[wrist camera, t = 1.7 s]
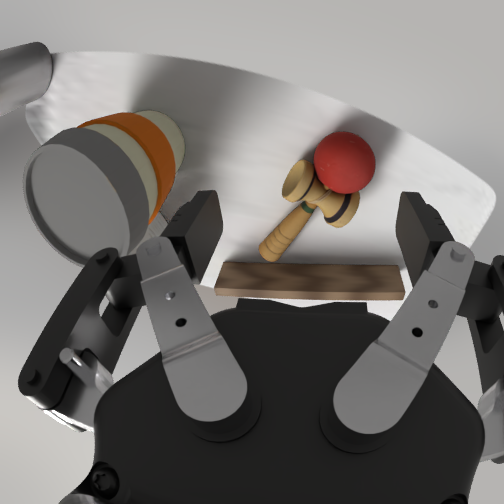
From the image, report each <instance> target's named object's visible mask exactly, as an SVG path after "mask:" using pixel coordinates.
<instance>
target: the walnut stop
mask: <svg viewBox="0 0 504 504" xmlns="http://www.w3.org/2000/svg"><path fill="white" fill-rule="evenodd" d="M214 289H215V293H216V295H220V296H237V297H255V298H278V299H309V300H403V298H404V295H405V289H404V285H403V281H402V278H401V274H400V270H399V267H398V265H333V264H281V263H239V262H223V265H222V268H221V270H220V273H219V276H218V278H217V281H216V284H215V286H214Z"/></svg>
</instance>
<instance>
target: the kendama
mask: <svg viewBox="0 0 504 504" xmlns="http://www.w3.org/2000/svg"><path fill="white" fill-rule="evenodd" d="M374 172H375V156H374V153H373V151H372V149H371V148H370V146H369V145H368V144H367V142H366V141H364V140H363V139H362V138H361V137H359V135H355V134H353V133H349V132H335V133H332V134H330V135H328V136H326V137H325V138H324V139H323V140H322V141H321V142H320V143H319V144H318V146H317V148H316V150H315V153H314V164H312V163H311V162H309V161H306V160H300V161H298V162H297V163H296V164H295V165H294V166H293V167H292V169H291V170H290V172H289V174H288V175H287V177H286V179H285V182H284V184H283V188H282V196H283V198H285V199H286V200H288V201H290V202H296V201H301V200H305V201H304V202H302V203H301V204H300V205H299V206H298V207H297V208H296V209H294V210H293V211H292V212H291V213H290V214H289V215H288V216H287V217H286V218H285V219H284V220H283V221H282V222H281V223H280V224H279V225H278V226H277V227H276V229H274V231H273V232H272V233H271V234H270V235H269V236H268V237H267V238H266V239H265V240H264V241H263V242H261V244H260V245H259V252H260V254H261V256H262V257H263V258H264V259H266V260H268V261H270V262H274V261H277V260H278V259H279V258H280V257H281V255H282V254H283V252H284V251H285V250H286V249H287V247H288V246H289V245H290V243H291V242H292V241H293V240H294V239H295V237H296V236H297V235H298V234H299V232H300V231H301V230H302V228H303V227H304V225H305V224H306V223H307V221H308V219H309V218H310V216H311V215H312V213H313V212H314V210H315V208H316V207H317V206H318V207H319V208H320V209H321V210H322V212H323V214H324V219H325V221H326V223H328V224H330V225H332V226H334V227H336V228H340V227H343V226H345V225H346V224H347V223H349V222H350V220H351V219H352V218H353V216H354V215H355V213H356V211H357V209H358V206H359V200H360V195H359V190H361V189H363V188H364V187H365V186H366V185H367V184H368V183H369V182H370V181H371V179H372V177H373V175H374Z"/></svg>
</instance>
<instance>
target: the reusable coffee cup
mask: <svg viewBox="0 0 504 504" xmlns="http://www.w3.org/2000/svg"><path fill="white" fill-rule="evenodd" d="M184 155H185V143H184V138H183V136H182V133H181V131H180V129H179V127H178V126H177V125H176V123H175V122H174V121H173V120H172V119H171V118H169V117H168V116H167V115H165V114H163V113H161V112H157V111H151V110H146V111H140V112H136V113H117V114H113V115H109V116H105V117H101V118H98V119H94V120H91V121H87V122H85V123H83V124H81V125H79V126H78V127H77V128H70V129H66V130H63V131H61V132H60V133H58V134H57V135H55V136H54V137H52V138H51V139H50V140H48V141H47V142H46V143H45V144H43V145H42V146H41V147H39V148H38V149H37V150H36V151H34V153H33V154H32V155H31V156H30V158H29V159H28V161H27V164H26V166H25V170H24V175H23V191H24V198H25V202H26V205H27V208H28V211H29V214H30V216H31V218H32V220H33V222H34V224H35V226H36V227H37V229H38V231H39V232H40V233H41V235H42V236H43V238H44V239H45V240H46V241H47V242H48V243H49V245H50V246H51V247H52V248H53V249H54V250H56V251H57V252H58V253H59V254H60V255H61V256H63V257H64V258H66V259H67V260H69V261H70V262H72V263H74V264H76V265H78V266H80V267H83V268H84V266H85V265H86V264H87V262H88V261H89V259H90V258H91V257H92V256H93V255H94V254H95V253H96V252H98V251H100V250H102V249H104V248H108V247H113V248H116V249H117V250H118V252H119V254H120V256H121V257H123V256H127V255H129V254H130V253H131V252H132V251H133V250H134V248H135V247H136V246H137V245H138V244H139V243H140V242H141V240H142V239H143V237H144V236H145V233H146V231H147V228H148V225H149V224H150V223H151V222H152V221H153V220H154V218H155V217H156V215H157V214H158V212H159V210H160V208H161V206H162V204H163V203H164V201H165V199H166V197H167V195H168V193H169V192H170V190H171V187H172V185H173V183H174V178H175V174H176V172H177V171H178V169H179V167H180V166H181V164H182V162H183V159H184Z"/></svg>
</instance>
